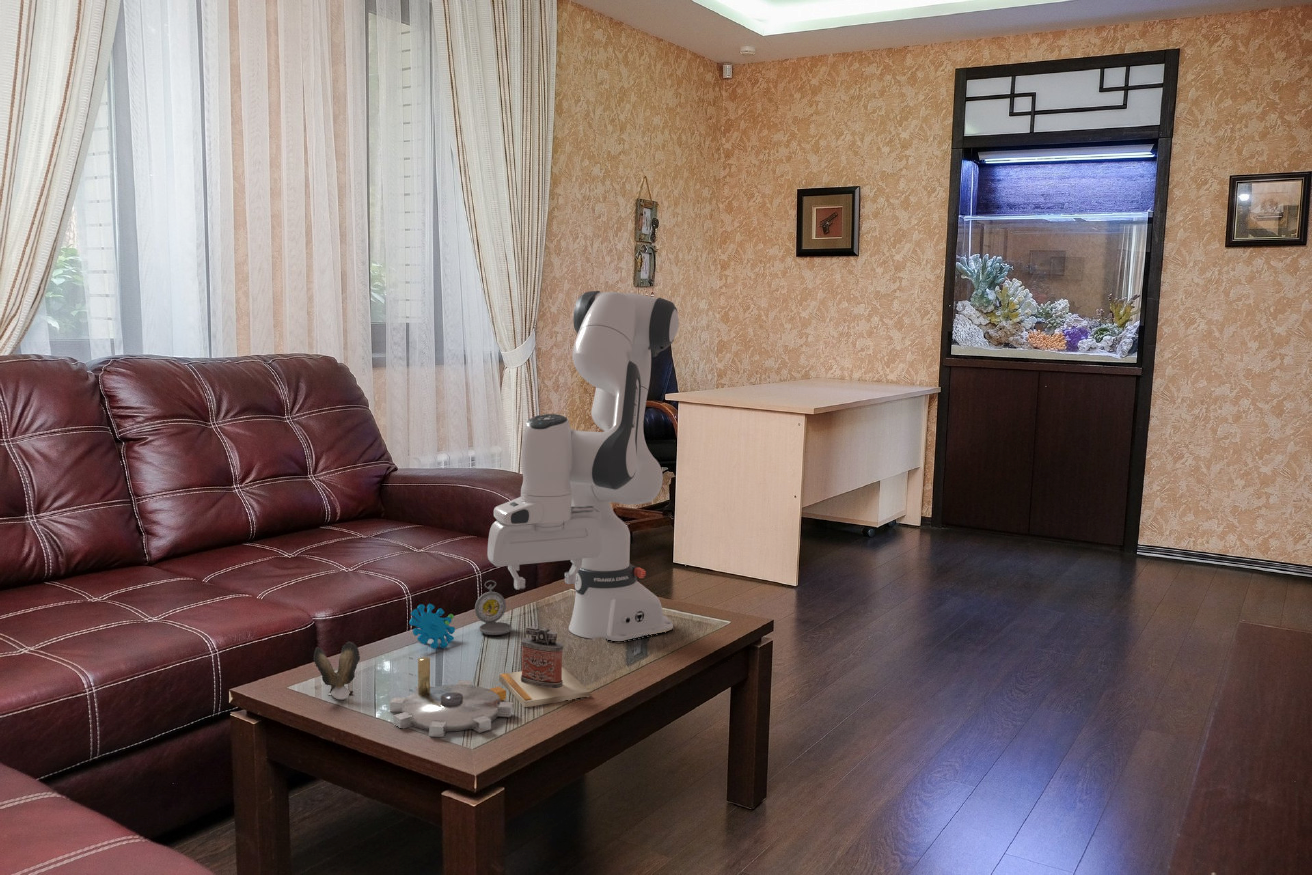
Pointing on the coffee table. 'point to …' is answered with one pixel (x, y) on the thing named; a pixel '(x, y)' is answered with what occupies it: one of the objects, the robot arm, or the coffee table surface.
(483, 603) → the pocket watch
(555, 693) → the pad
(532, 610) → the coffee table surface
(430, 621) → the gear
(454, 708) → the sprocket
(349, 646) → the eagle figurine
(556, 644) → the lighter
